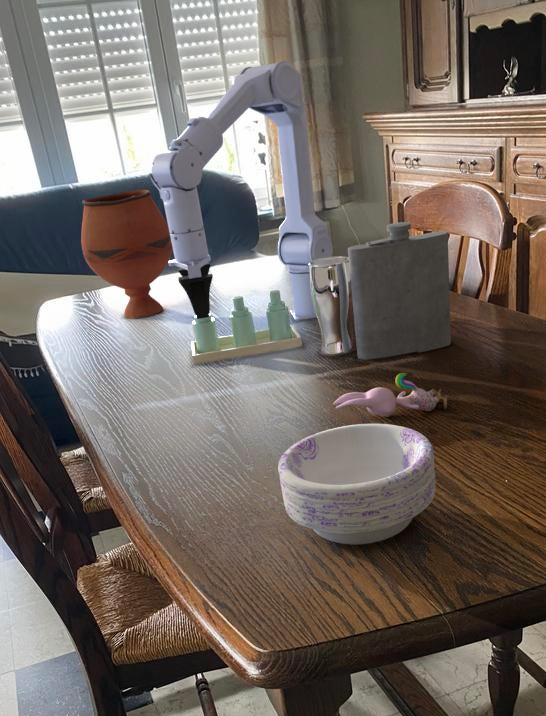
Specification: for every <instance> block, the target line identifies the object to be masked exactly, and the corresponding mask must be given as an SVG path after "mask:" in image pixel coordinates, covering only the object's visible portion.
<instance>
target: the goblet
mask: <svg viewBox="0 0 546 716" xmlns="http://www.w3.org/2000/svg"><path fill="white" fill-rule="evenodd" d="M81 203H82V205H83V211H82V212H83V213H82V222H81V236H80V239H81V240H80V242H81V243H80V244H81V250H82V254H83V258H84V261H85V262H86V264H87V266H88V267H89V268H90V269H91V270H92V271H93V273H95V274H96V275H97V276H98V277H99V278H100V279H102V280H103V281H105V282H106V283H109V284H111V285H112V286H115V287H117V288H119V289H123V290H124V294H125V295H126V296H128V297H129V300H128V303H127V304H126V307H125V309H124V312H123V316H124V318H127V319H139V318H140V319H142V318H147V317H150V316H154V315H157V314H159V313H160V312H162V311H164V307H163V306H162V305H161V303H160V302H159V301H158V300H156V299H155V298H154V297H152V296H151V295H150V292H151V290H152V288H151V284H152V283H153V282H154V281H156V280H157V279H158V277H160V276H161V274H162V273H163V272H164V270H165V269H166V267H167V265H169V261H170V259H171V256H172V252H173V247H172V242H171V237H170V232H169V227H168V222H167V220H166V219H165V217H164V216H163V214H162V212H161V211H160V209H159V207H158V206H157V204H156V202H155V201H154V199H153V198H152V193H151V191H150V190H148V189H135V190H131V191H125V192H117V193H113V194H105V195H103V196H102V195H101V196H97V197H93V198H88V199H83V200H82V202H81Z"/></svg>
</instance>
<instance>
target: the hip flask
mask: <svg viewBox="0 0 546 716" xmlns="http://www.w3.org/2000/svg"><path fill="white" fill-rule="evenodd" d="M411 225H412V223H411V222H410V221H409V222H408V221H402V222H401V221H400V222H393V223H390V224H387V225H386V232H388V233H389V234H387V237H384V238H381V239H377V240H372V241H366V242H365V243H364V244H356V245H351V246H349V247H347V254H348V256H347V257H349V268H350V279H351V290H352V301H353V322H354V334H355V345H356V355H357V359H359V360H364V361H365V360H374V359H381V358H389V357H395V356H401V355H405V354H410V353H416V352H417V353H418V354H421V353H425V352H430V351H433V350H438V349H440V348H441V349H442V348H445V347H448V346H451V343H452V340H451V339H452V338H451V304H450V303H451V300H450V299H451V298H450V267H449V265H450V263H449V262H450V261H449V260H450V259H449V233H448V231H444V230H443V231H442V230H440V231H439V230H437V231H431V232H427V233H422V234H418V235H413V236H411V235H410V230H411V228H412V226H411Z"/></svg>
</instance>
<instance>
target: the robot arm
mask: <svg viewBox="0 0 546 716" xmlns="http://www.w3.org/2000/svg"><path fill="white" fill-rule="evenodd" d="M249 109H250V110H252V111H255V112H256V113H259V114H260V115H263V116H265V117H267V118H268V119H269V120H270V121H271V122H272V123H273V124H275V126H276V131H277V132H276V133H277V142H278V151H279V160H280V170H281V179H282V189H283V199H284V208H285V219H284V221H283V222H282V223H281V224H280V226H279V228H278V236H279V237H278V243H277V256H278V259H279V261H280V262H281V264H283V265H284V266H285V271H287V272H288V273H289V275H288V276H289V283H290V291H291V297H292V298H291V299H292V305H293V309H290V310H289V313H290V314H291V316H292V317H293V319H294V321H301V320H308V319H314V318H317V315H316V312H315V308H314V304H313V300H312V295H311V287H310V267H309V263H310V262H311V261H313V260H316V259H320V258H325V257H333V251H334V250H333V243H332V240H331V238H330V235H329V229H328V224H326V222H325V221H323V220H322V219H321V218H319V216H317V215H316V211H315V200H314V199H315V198H314V187H313V176H312V165H311V153H310V142H309V141H310V140H309V131H308V130H309V129H308V121H307V120H308V119H307V118H308V117H307V110H306V106H305V102H304V95H303V83H302V75H301V73H300V72H299V71H298V70H297V69H296V67H295V66H294V65H293V64H292V63H290V62H289V61H287V60H280V61H277V62H274V63H269V64H263V65H257V66H247V67H244V68H242V70H241V71H240V72H239V74H237V75H236V76H234V77H233V79H232V83H231V86H230V87H229V88H228V90H227V91H226V92H225V93H224V95H223V96H222V97H221V98H220V100H219V101H218V102H217V103H216V105H215V107H214V108H213V109H212V110H211V111H210V113H209V114H208V115H207V117H205V116H198V117H193V118H189V120H188V121H187V122H186V126H187V127H186V129H185V130H184V131H183V132H182V133H181V134H180V136H178V137H177V138H175V139H172V140H171V141H170V143H169V145H170V146H169V148H168V150H165V151H161V152H159V153H157V154H156V155H155V157H154V158H153V161H152V163H151V172H150V173H149V178H150V180H151V182H152V184H153V186H154V187H155V188H157V190H158V192H159V196H160V199H161V200H162V202H163V207H164V213H165V217H166V223H167V225H168V227H169V232H170V237H171V242H172V252H173V256H174V259H171V260H170V259H169V262H168V267H176V268H178V270H177V271H178V273H179V274H180V276H178V278H177V279H178V283H179V284H180V286H181V287H182V288H183V290H184V291H185V293H186V295H187V297H188V300H189V302H190V305H191V307H192V311H193V313H194V316H195V315H196V317H197V319H201V318H207V317H209V314H210V313H211V312H210V311H211V308H210V303H211V302H210V292H211V285H212V281H213V273H209V272H210V269H211V263H210V261H212V260H211V259H212V258H211V255H210V253H209V249H208V243H207V237H206V232H205V227H204V226H205V225H204V221H203V215H202V210H201V205H200V199H199V193H198V188H197V187H198V186H199V185H200V183H201V180H202V177H203V169H204V168H205V167H206V166H207V164H209V162H210V161H211V160H212V159H213V157H214V156H216V154H217V153H218V152H219V150H220V149H221V148H223V145H224V137H223V134H225V133H226V132H227V130H228V129H229V128H231V126H233V124H235V122H236V121H238V119H239V118H240V117H242V115H243V114H245V113H246V111H247V110H249Z"/></svg>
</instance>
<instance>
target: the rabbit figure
mask: <svg viewBox="0 0 546 716" xmlns="http://www.w3.org/2000/svg"><path fill="white" fill-rule="evenodd" d="M407 376H408V373H406V372H400V373H398V374H397V375H396V376H395V381H394V383H395V385H396V387H398V388H399V389H401V390H403V391H401V392H400V393H399V394H398V395H397V397H396V396H395V394H394V392H393V391H392V390H391V389H389V388H386V387H381V386H380V387H374V388H372V389H370V390H368V391H366V392H361V391H360V392H359V391H358V392H357V391H353V392H348V393H344V394H342V395H340V396H339V397H338V398H337V399H336V400H335V401H334V402H333V405H334V406H336V407H335V409H342V408H344V407H347V406H360V407H364V408H366V409H367V411H368V412H369V413H371V414H372V415H375V416H378V415H379V416H381V417H382V418H384V417H385V418H389V417H390V416H393V415H394V414H395V412H396V408H397V407H400V408H402V409H404V410H408V411H409V410H411V409H412V410H413V409H414V410H418V411H423V412H431V411H433V410H435V408H436V406H437V405H438V403H440V402H441V401H443V408H444V409H445V410H446V409H447V408H448V406H447V405H448V398H447V397H448V395H447V394H446V395H445V397H443V396H441V391H442V388H439V390H438V391H436V390H435V389H434V388H432V389H431V390H429V391H426V390H425V389H423V388H420V387H417V386H416V385H415V384H414V382H412V381H409V380H405V379H404V378H405V377H407ZM405 390H412V391H411V393H409V395H406V394H407V392H406V391H405ZM434 394H435V395H436V396H434ZM405 395H406V396H405Z"/></svg>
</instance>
